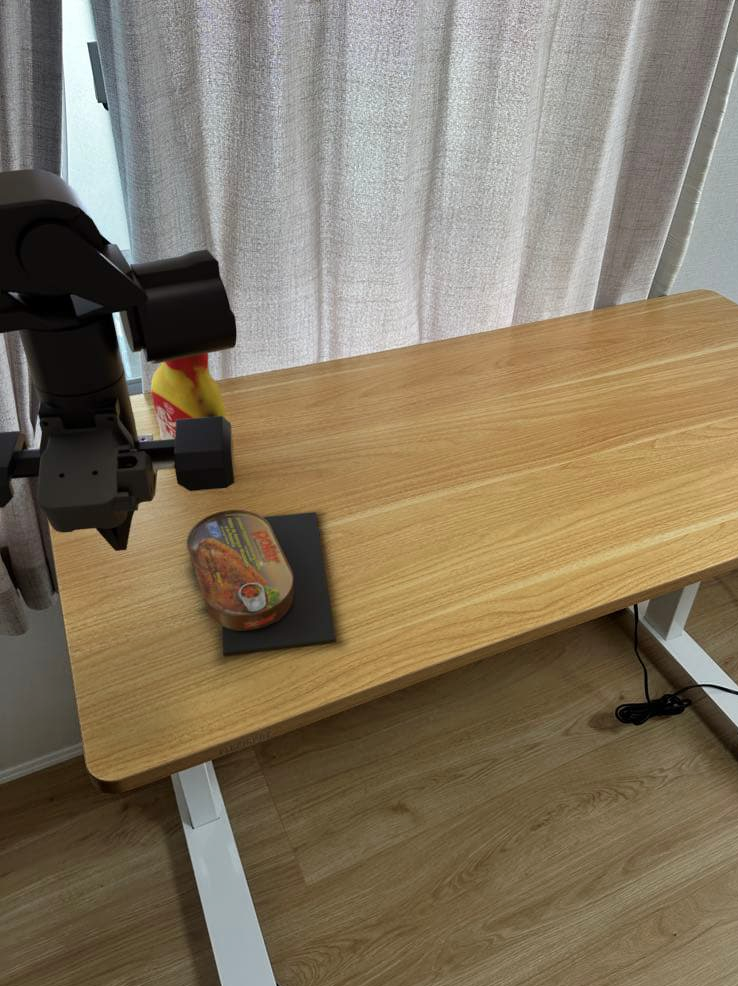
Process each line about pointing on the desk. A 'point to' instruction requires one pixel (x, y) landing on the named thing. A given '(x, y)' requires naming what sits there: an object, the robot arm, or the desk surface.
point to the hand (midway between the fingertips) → (121, 547)
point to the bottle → (184, 393)
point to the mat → (310, 599)
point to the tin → (240, 570)
